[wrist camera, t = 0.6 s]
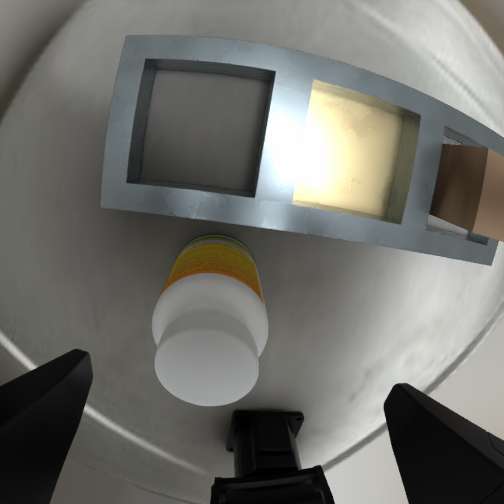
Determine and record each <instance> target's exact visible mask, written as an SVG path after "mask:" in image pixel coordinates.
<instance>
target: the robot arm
mask: <svg viewBox="0 0 504 504" xmlns="http://www.w3.org/2000/svg"><path fill="white" fill-rule="evenodd" d="M92 380H93V372H92V365H91V358H90V354H89V353H88V352H87V351H83V350H80V349H74V350H72V351H70V352H68V353H66V354H64V355H62V356H60V357H58V358H56V359H54V360H52V361H50V362H48V363H46V364H44V365H42V366H40V367H38V368H36V369H34V370H32V371H30V372H27V373H25V374H23V375H21V376H19V377H17V378H15V379H13V380H11V381H9V382H7V383H5V384H3V385H1V386H0V504H50V501H51V498H52V495H53V492H54V489H55V486H56V483H57V480H58V478H59V475H60V472H61V470H62V467H63V464H64V462H65V459H66V456H67V454H68V451H69V449H70V446H71V444H72V441H73V439H74V436H75V434H76V432H77V429H78V426H79V424H80V420H81V417H82V414H83V410H84V407H85V403H86V400H87V397H88V393H89V390H90V387H91V384H92ZM384 413H385V417H386V422H387V426H388V431H389V435H390V441H391V445H392V449H393V452H394V455H395V458H396V462H397V465H398V468H399V472H400V475H401V478H402V482H403V485H404V488H405V492H406V495H407V499H408V503H409V504H504V440H502V439H500V438H498V437H496V436H494V435H493V434H491V433H489V432H486V430H484V429H482V428H481V427H479V426H477V425H475V424H474V423H472V422H470V421H469V420H467V419H465V418H464V417H462V416H460V415H459V414H457V413H455V412H454V411H452V410H450V409H449V408H447V407H445V406H444V405H442V404H440V403H439V402H437V401H435V400H434V399H432V398H431V397H429V396H427V395H426V394H424V393H422V392H421V391H419V390H417V389H416V388H414V387H413V386H411V385H409V384H408V383H398V384H395V385H394V386H393V388H392V390H391V391H390V393H389V395H388V397H387V399H386V400H385V402H384ZM303 420H304V415H303V414H302V413H273V412H248V411H235V412H234V413H233V415H232V420H231V425H230V430H229V435H228V440H227V445H226V450H227V451H228V452H234V468H235V477H234V478H222V477H215V482H214V485H212V487H211V501H210V504H335V503H334V499H333V496H332V493H331V491H330V488H329V486H328V483H327V480H326V478H325V475H324V472H323V470H322V467H321V465H317V466H314V467H312V468H307V469H302V468H301V463H300V459H299V454H298V449H297V445H296V440H295V438H296V436H297V434H298V432H299V430H300V427H301V425H302V423H303Z"/></svg>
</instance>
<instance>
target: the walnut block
mask: <svg viewBox="0 0 504 504" xmlns="http://www.w3.org/2000/svg"><path fill="white" fill-rule="evenodd" d="M429 214H430V215H433V216H435V217H438V218H440V219H443V220H445V221H447V222H450V223H452V224H454V225H457V226H459V227H461V228H463V229H466V230H468V231H470V232H473V233H476V234H479V235H483V236H486V237H490V238H493V239H496V240H499V241H503V242H504V157H503V156H502V155H500V154H498V153H497V152H495V151H493V150H491V149H490V148H486V147H475V146H464V145H450V144H442V149H441V155H440V161H439V167H438V173H437V178H436V184H435V189H434V193H433V198H432V203H431V207H430V211H429Z"/></svg>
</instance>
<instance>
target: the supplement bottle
mask: <svg viewBox="0 0 504 504" xmlns="http://www.w3.org/2000/svg"><path fill="white" fill-rule="evenodd" d="M268 329H269V326H268V317H267V312H266V308H265V303H264V298H263V293H262V289H261V284H260V279H259V274H258V270H257V266H256V263H255V260H254V258H253V256H252V254H251V253H250V252H249V250H248V249H247V248H246V247H245V246H244V245H243V244H241V243H240V242H238V241H237V240H235V239H233V238H230V237H227V236H223V235H207V236H203V237H200V238H197V239H195V240H194V241H192V242H190V243H189V244H188V245H187V246H186V247H185V248H184V249H183V250H182V251H181V252H180V254H179V256H178V258H177V260H176V262H175V263H174V266H173V268H172V270H171V273H170V275H169V277H168V279H167V281H166V284H165V286H164V288H163V290H162V292H161V295H160V297H159V299H158V301H157V304H156V307H155V309H154V312H153V317H152V332H153V337H154V340H155V343H156V345H157V347H158V348H157V351H156V355H155V371H156V374H157V377H158V379H159V381H160V382H161V383H162V385H163V386H164V387H165V388H166V389H167V390H168V391H169V392H170V393H171V394H173V395H174V396H176V397H178V398H179V399H181V400H183V401H186V402H189V403H192V404H196V405H201V406H220V405H226V404H229V403H232V402H235V401H237V400H239V399H241V398H242V397H244V396H245V395H247V394H248V393H249V392H250V391H251V390H252V388H253V387H254V385H255V384H256V381H257V379H258V375H259V362H258V357H259V356H260V355H261V353H262V352H263V350H264V348H265V345H266V342H267V339H268Z"/></svg>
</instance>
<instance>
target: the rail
mask: <svg viewBox="0 0 504 504" xmlns="http://www.w3.org/2000/svg"><path fill="white" fill-rule="evenodd" d="M156 69H158V70H181V71H195V72H206V73H216V74H225V75H233V76H240V77H247V78H254V79H260V80H266V81H270V86H269V92H268V98H267V104H266V110H265V116H264V121H263V127H262V133H261V140H260V146H259V152H258V158H257V164H256V170H255V176H254V182H253V188H252V192H247V191H240V190H232V189H225V188H218V187H210V186H202V185H194V184H185V183H176V182H167V181H157V180H147V179H139V177H140V168H141V159H142V151H143V143H144V136H145V129H146V122H147V116H148V110H149V104H150V98H151V93H152V87H153V82H154V77H155V72H156ZM443 135H445V136H447V137H449V138H451V139H453V140H456V141H458V142H460V143H462V144H464V145H466V146H475V147H486V148H490V149H491V150H493V151H495V152H497V153H498V154H500V155H502V156H503V157H504V138H503V137H502V136H500V135H499V134H497V133H496V132H494V131H493V130H491V129H489V128H488V127H486V126H485V125H483V124H481V123H480V122H478V121H476V120H475V119H473V118H471V117H469V116H468V115H466V114H464V113H462V112H460V111H458V110H457V109H455V108H453V107H451V106H449V105H447V104H445V103H443V102H441V101H439V100H437V99H435V98H433V97H431V96H429V95H427V94H424V93H422V92H420V91H418V90H416V89H413V88H411V87H409V86H406V85H404V84H402V83H399V82H397V81H394V80H392V79H389V78H386V77H384V76H381V75H378V74H376V73H373V72H370V71H367V70H364V69H361V68H358V67H355V66H352V65H349V64H346V63H343V62H339V61H336V60H332V59H329V58H325V57H321V56H318V55H314V54H310V53H306V52H301V51H297V50H292V49H288V48H283V47H278V46H272V45H267V44H261V43H255V42H248V41H241V40H233V39H225V38H215V37H203V36H186V35H129V36H126V38H125V42H124V46H123V50H122V54H121V58H120V62H119V67H118V71H117V76H116V81H115V86H114V91H113V96H112V102H111V108H110V114H109V121H108V128H107V135H106V143H105V152H104V162H103V173H102V186H101V204H100V208H108V209H117V210H126V211H135V212H144V213H153V214H161V215H169V216H178V217H186V218H194V219H201V220H209V221H217V222H224V223H232V224H239V225H247V226H254V227H261V228H268V229H275V230H282V231H289V232H296V233H302V234H309V235H316V236H322V237H329V238H335V239H341V240H348V241H354V242H360V243H366V244H372V245H378V246H384V247H390V248H396V249H402V250H408V251H414V252H419V253H425V254H431V255H436V256H442V257H447V258H453V259H458V260H463V261H468V262H474V263H479V264H484V265H489V266H491V265H492V262H493V259H494V256H495V252H496V249H497V246H498V242H499V240H496V239H493V238H490V237H486V236H483V235H479V234H476V233H473V232H470V231H469V233H468V236H465V235H461V234H457V233H453V232H449V231H445V230H441V229H437V228H433V227H429V226H426V224H427V220H428V216H429V211H430V207H431V203H432V198H433V193H434V189H435V184H436V178H437V173H438V167H439V161H440V155H441V149H442V142H443Z"/></svg>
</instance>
